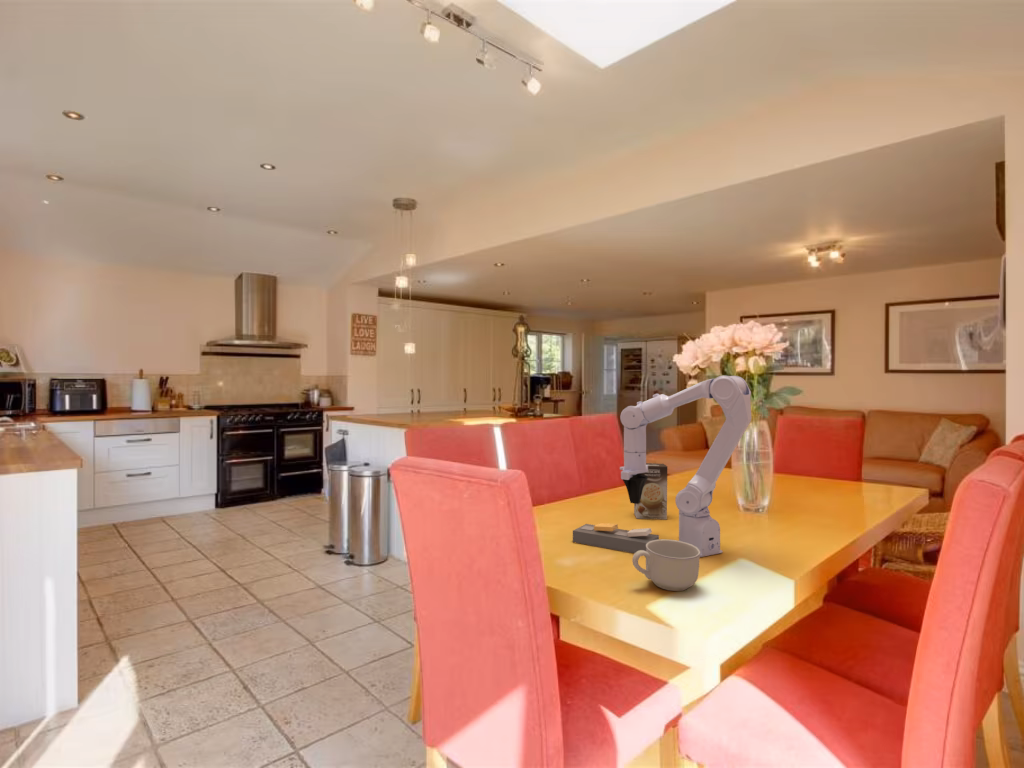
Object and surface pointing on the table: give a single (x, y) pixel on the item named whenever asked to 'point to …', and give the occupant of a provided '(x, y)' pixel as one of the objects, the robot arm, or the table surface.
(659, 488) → the coffee box
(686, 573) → the teacup
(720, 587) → the table surface
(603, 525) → the block
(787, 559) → the table surface
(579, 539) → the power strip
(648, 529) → the beige rectangular slab
